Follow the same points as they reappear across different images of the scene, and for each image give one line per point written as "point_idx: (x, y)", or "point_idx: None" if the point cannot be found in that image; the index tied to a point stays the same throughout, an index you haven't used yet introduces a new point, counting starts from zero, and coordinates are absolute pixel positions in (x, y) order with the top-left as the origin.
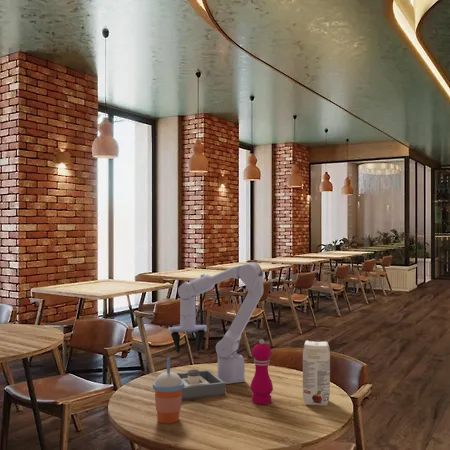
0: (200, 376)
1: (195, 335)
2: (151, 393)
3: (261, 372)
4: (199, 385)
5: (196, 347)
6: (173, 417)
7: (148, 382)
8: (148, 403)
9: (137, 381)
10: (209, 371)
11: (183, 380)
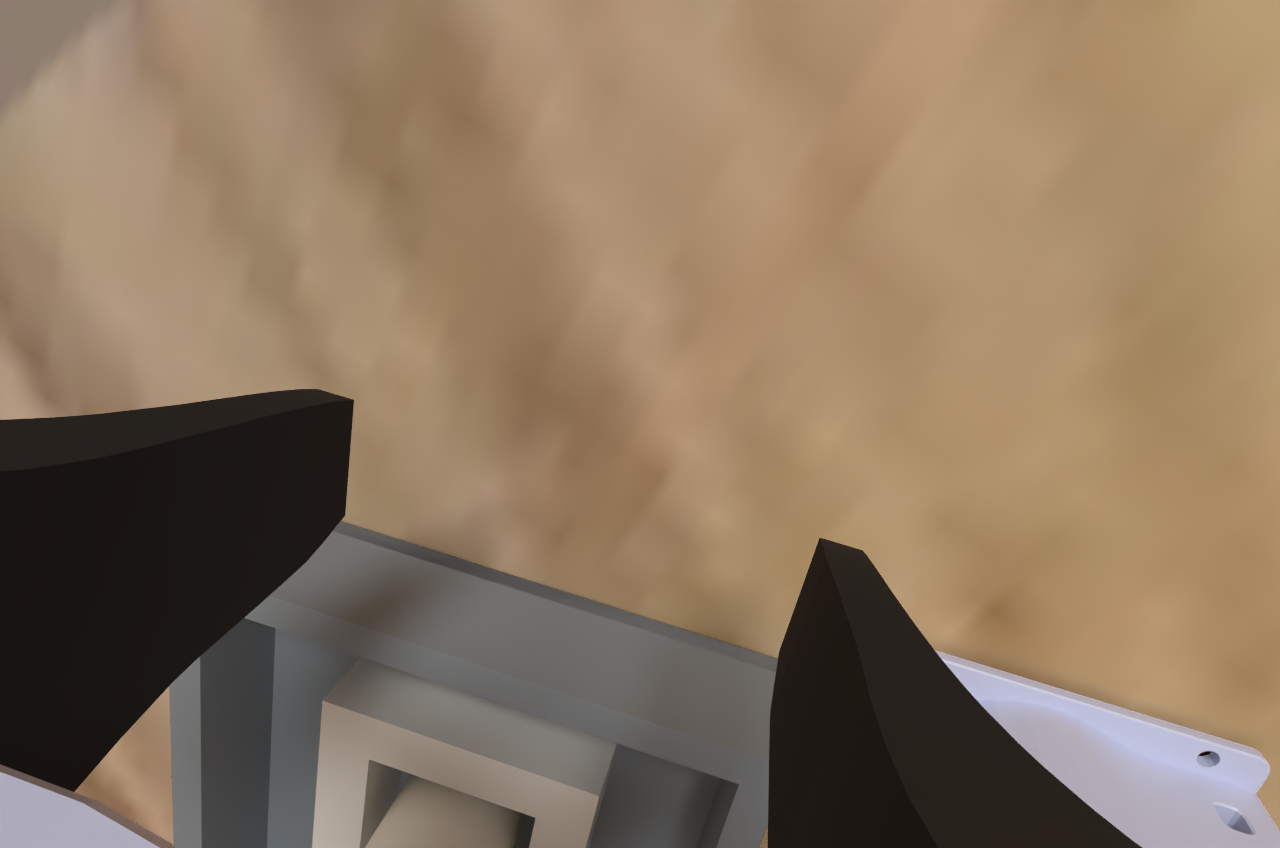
0: (591, 793)
1: (886, 778)
2: None
3: None
4: None
5: (798, 635)
6: None
7: (153, 269)
8: None
9: (42, 149)
10: (753, 814)
11: (355, 771)
